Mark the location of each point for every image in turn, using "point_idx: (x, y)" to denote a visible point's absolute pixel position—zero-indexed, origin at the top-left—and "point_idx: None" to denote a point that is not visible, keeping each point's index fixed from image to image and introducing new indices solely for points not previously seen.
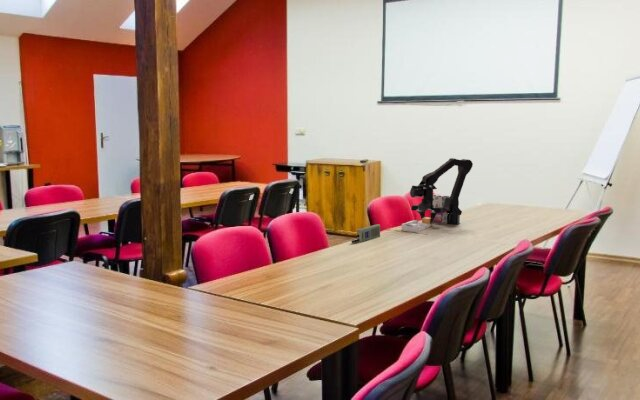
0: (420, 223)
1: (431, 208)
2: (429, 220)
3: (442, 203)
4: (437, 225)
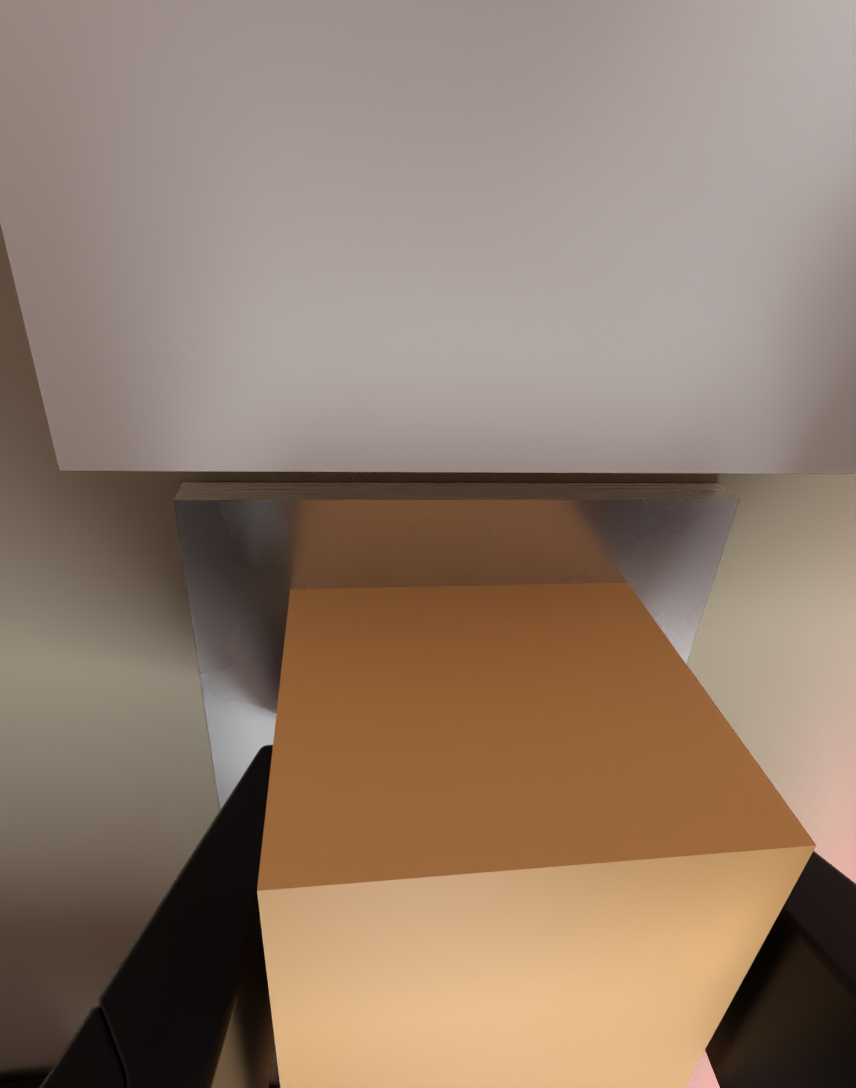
0: (685, 299)
1: None
2: (270, 816)
3: None
4: None
